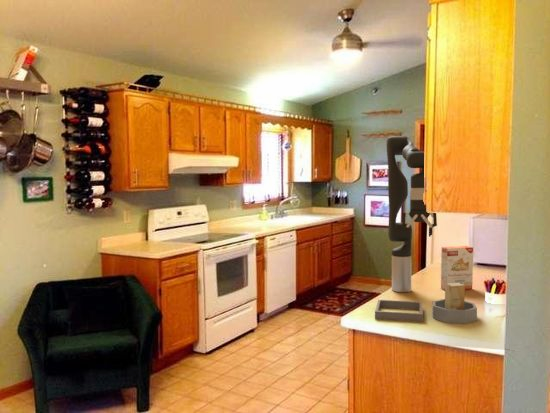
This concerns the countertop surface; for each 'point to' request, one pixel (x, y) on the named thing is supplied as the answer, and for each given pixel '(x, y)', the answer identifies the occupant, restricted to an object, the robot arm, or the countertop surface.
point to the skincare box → (454, 296)
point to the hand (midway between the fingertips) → (419, 236)
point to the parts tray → (399, 315)
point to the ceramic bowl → (454, 313)
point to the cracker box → (457, 266)
